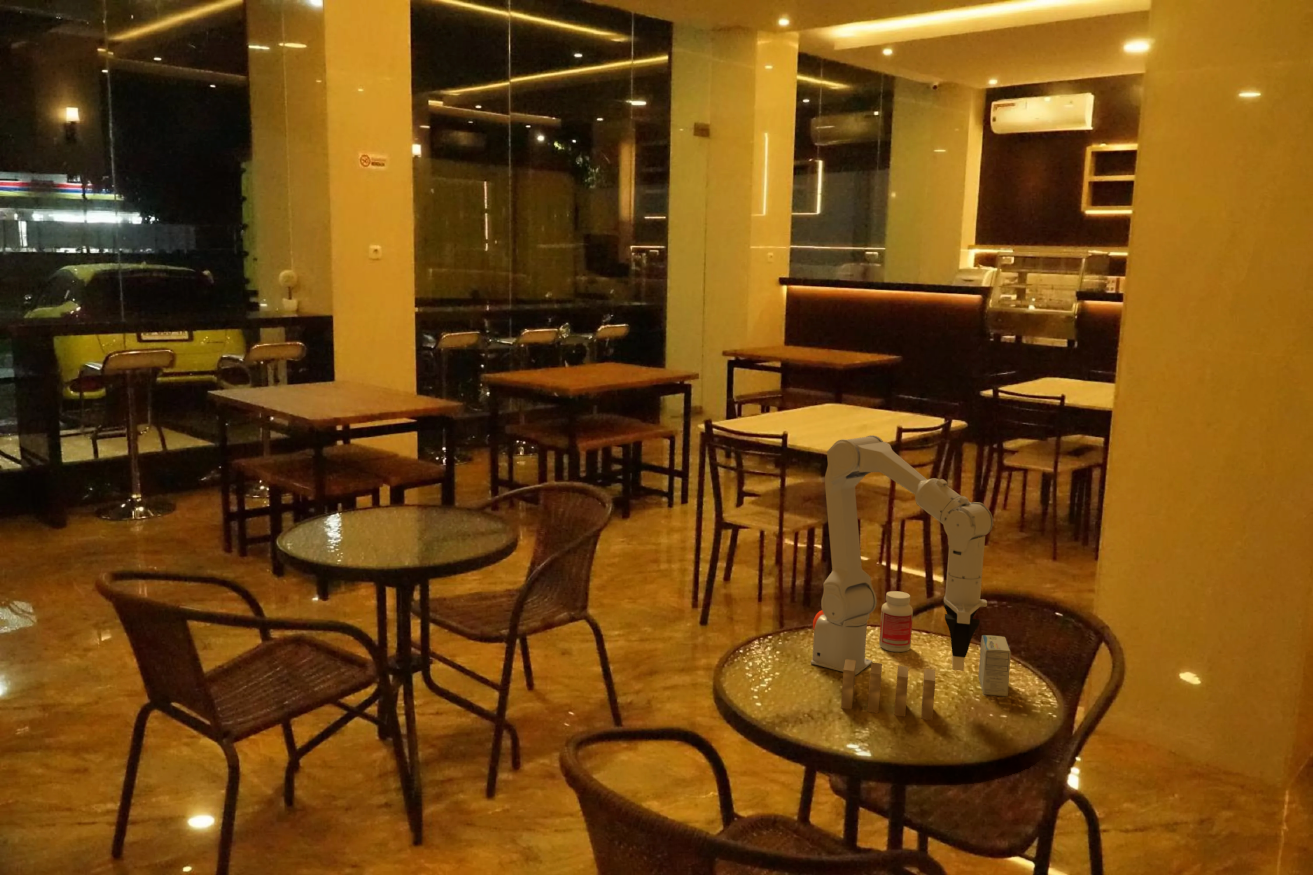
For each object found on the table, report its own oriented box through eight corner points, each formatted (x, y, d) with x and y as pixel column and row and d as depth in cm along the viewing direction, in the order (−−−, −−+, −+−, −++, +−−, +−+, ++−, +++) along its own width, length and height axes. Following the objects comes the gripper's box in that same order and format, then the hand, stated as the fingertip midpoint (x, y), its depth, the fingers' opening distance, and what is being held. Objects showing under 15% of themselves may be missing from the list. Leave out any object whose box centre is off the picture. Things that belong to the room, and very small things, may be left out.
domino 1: (840, 707, 179) (843, 669, 178) (843, 696, 184) (845, 659, 183) (851, 709, 179) (854, 670, 178) (853, 697, 184) (856, 660, 183)
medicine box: (1007, 697, 186) (1011, 651, 184) (981, 694, 187) (985, 648, 185) (1002, 680, 193) (1006, 636, 192) (977, 677, 194) (981, 633, 193)
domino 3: (894, 714, 177) (897, 676, 176) (895, 703, 182) (897, 665, 181) (905, 716, 177) (908, 677, 176) (905, 704, 182) (908, 666, 180)
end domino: (952, 669, 177) (955, 630, 176) (951, 659, 182) (954, 620, 181) (963, 670, 177) (966, 631, 176) (962, 660, 182) (965, 621, 180)
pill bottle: (915, 651, 206) (919, 598, 205) (887, 653, 205) (890, 600, 203) (901, 640, 212) (905, 588, 211) (873, 642, 211) (877, 590, 209)
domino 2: (867, 711, 178) (870, 672, 177) (869, 699, 183) (871, 662, 182) (878, 712, 178) (880, 674, 177) (879, 701, 183) (882, 663, 181)
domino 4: (921, 718, 176) (924, 679, 175) (921, 706, 181) (924, 668, 180) (932, 719, 176) (935, 680, 174) (932, 707, 180) (935, 669, 179)
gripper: (991, 589, 169) (985, 668, 171) (986, 564, 183) (980, 638, 185) (946, 584, 170) (941, 663, 173) (944, 561, 184) (939, 634, 187)
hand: (958, 650), depth 179 cm, fingers closed on end domino, 5 cm apart
